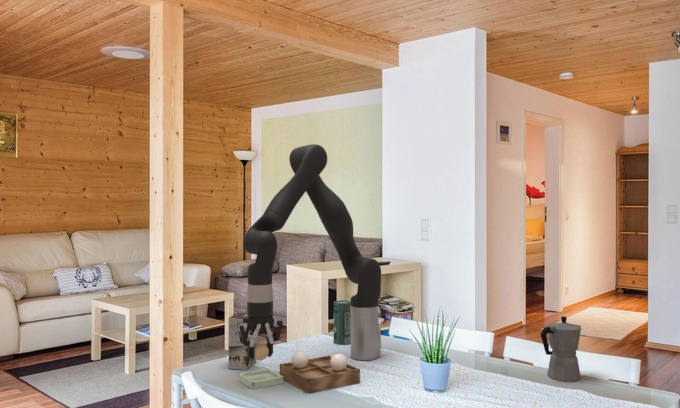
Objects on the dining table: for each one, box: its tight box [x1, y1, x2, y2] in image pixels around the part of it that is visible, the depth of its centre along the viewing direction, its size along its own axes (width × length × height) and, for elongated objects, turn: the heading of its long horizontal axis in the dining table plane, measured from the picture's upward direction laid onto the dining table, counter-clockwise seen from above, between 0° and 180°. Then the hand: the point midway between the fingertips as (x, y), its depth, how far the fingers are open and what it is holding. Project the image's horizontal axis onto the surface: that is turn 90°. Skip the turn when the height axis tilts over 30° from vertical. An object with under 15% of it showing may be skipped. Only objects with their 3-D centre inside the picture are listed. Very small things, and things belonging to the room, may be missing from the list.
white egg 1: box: [290, 351, 309, 369], centre depth 176 cm, size 5×5×5 cm
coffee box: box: [227, 312, 257, 371], centre depth 190 cm, size 9×6×16 cm
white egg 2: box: [330, 353, 348, 371], centre depth 173 cm, size 5×5×5 cm
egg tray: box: [279, 355, 361, 394], centre depth 175 cm, size 17×17×4 cm
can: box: [333, 299, 351, 346], centre depth 218 cm, size 6×6×15 cm
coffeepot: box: [540, 315, 582, 383], centre depth 176 cm, size 15×9×18 cm, turn 116°
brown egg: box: [253, 342, 269, 362], centre depth 173 cm, size 5×5×5 cm
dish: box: [237, 368, 285, 390], centre depth 173 cm, size 10×10×2 cm
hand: (260, 357), depth 173 cm, fingers closed on brown egg, 5 cm apart
